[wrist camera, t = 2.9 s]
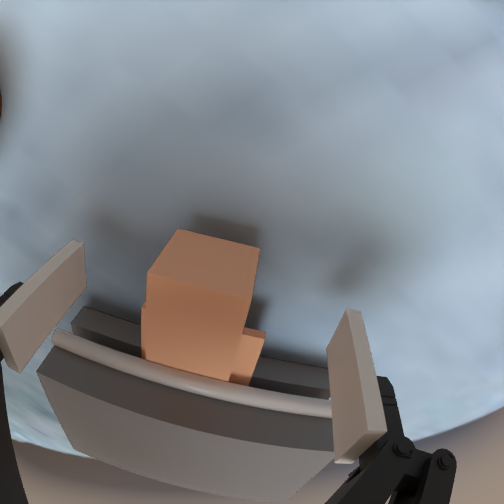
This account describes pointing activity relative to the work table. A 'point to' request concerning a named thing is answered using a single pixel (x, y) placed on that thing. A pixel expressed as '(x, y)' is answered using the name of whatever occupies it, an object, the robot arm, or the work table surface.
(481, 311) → the work table surface
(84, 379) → the block
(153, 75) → the work table surface
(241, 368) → the orange stepped block
